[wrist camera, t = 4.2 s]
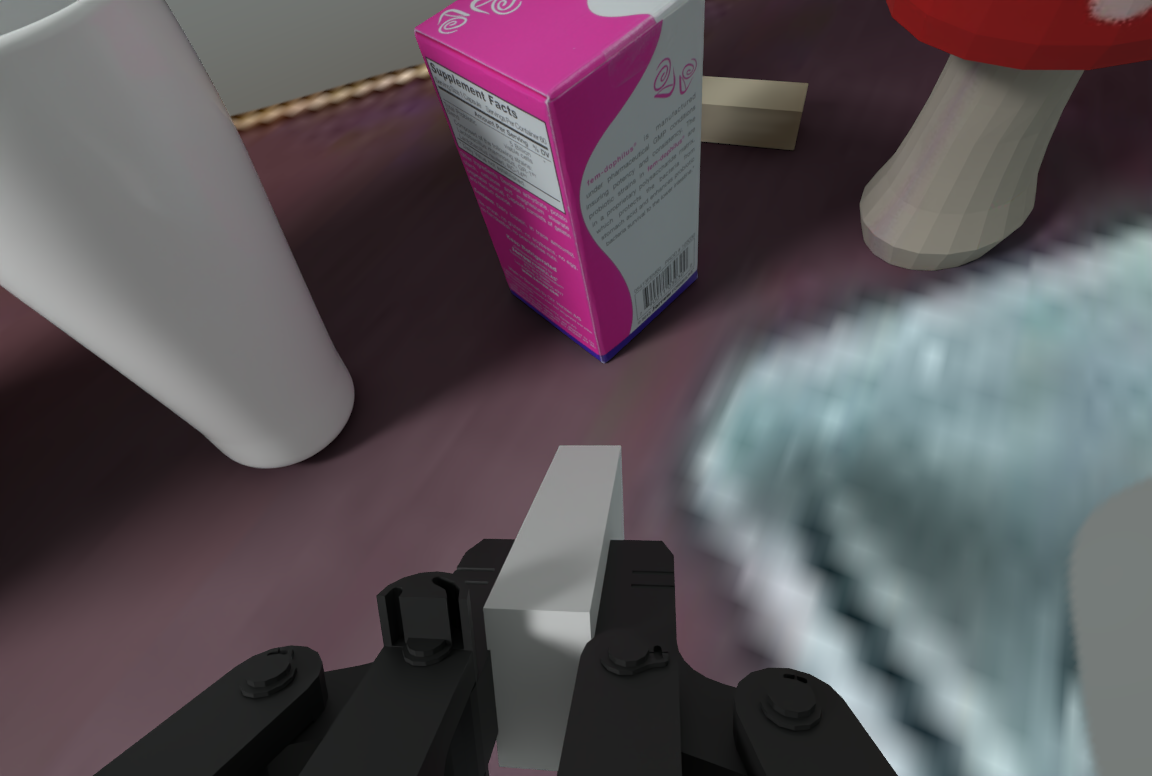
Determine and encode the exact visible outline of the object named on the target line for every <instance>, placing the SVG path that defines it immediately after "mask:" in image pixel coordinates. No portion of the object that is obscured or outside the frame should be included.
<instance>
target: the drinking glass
mask: <svg viewBox="0 0 1152 776" xmlns="http://www.w3.org/2000/svg"><path fill="white" fill-rule="evenodd" d="M0 286H2V287H3V288H4V289H6V290H7V291H8V292H10V293H11V294H12V295H14V296H15V297H16V298H18V299H19V300H21V301H22V302H23V303H25V304H26V305H27V306H29V307H30V308H32V309H33V310H34V311H36V312H37V313H38V314H40V315H41V316H43V317H44V318H45V319H47V320H48V321H49V322H51V323H52V324H54V325H55V326H56V327H58V328H59V329H60V330H62V331H63V332H65V333H66V334H67V335H69V336H70V337H71V338H73V339H74V340H76V341H77V342H78V343H80V344H81V345H82V346H84V347H85V348H87V349H88V350H89V351H91V352H92V353H93V354H95V355H96V356H98V357H99V358H100V359H102V360H103V361H104V362H106V363H107V364H109V365H110V366H111V367H113V368H114V369H115V370H117V371H118V372H119V373H121V374H122V375H124V376H125V377H126V378H128V379H129V380H130V381H132V382H133V383H134V384H136V385H137V386H139V387H140V388H141V389H143V390H144V391H145V392H147V393H148V394H149V395H151V396H152V397H153V398H155V399H156V400H158V401H159V402H160V403H162V404H163V405H164V406H166V407H167V408H168V409H170V410H171V411H172V412H174V413H175V414H176V415H178V416H179V417H180V418H182V419H183V420H184V421H186V422H187V423H188V424H190V425H191V426H192V427H194V428H195V429H196V430H198V431H199V432H200V433H201V434H202V435H204V436H205V437H206V438H207V439H208V440H209V441H210V442H211V443H212V444H213V445H214V446H215V447H216V448H218V449H219V450H220V451H221V452H222V453H223V454H225V455H226V456H227V457H228V458H230V459H232V460H233V461H235V462H237V463H240V464H242V465H245V466H249V467H254V468H263V469H268V468H280V467H285V466H289V465H293V464H296V463H298V462H301V461H303V460H306V459H308V458H310V457H311V456H313V455H315V454H316V453H318V452H320V451H321V450H322V449H324V448H325V447H326V446H327V445H329V444H330V443H331V442H332V441H333V440H334V439H335V438H336V437H337V436H338V435H339V433H340V432H341V431H342V429H343V428H344V426H345V425H346V423H347V421H348V419H349V417H350V415H351V412H352V409H353V405H354V395H355V392H354V385H353V380H352V378H351V375H350V373H349V371H348V369H347V367H346V366H345V364H344V362H343V360H342V359H341V357H340V355H339V354H338V352H337V350H336V349H335V347H334V344H333V342H332V340H331V338H330V336H329V334H328V331H327V329H326V327H325V325H324V323H323V321H322V318H321V316H320V314H319V312H318V309H317V307H316V305H315V303H314V301H313V298H312V296H311V294H310V292H309V289H308V287H307V285H306V283H305V280H304V278H303V276H302V274H301V271H300V269H299V267H298V265H297V262H296V260H295V258H294V256H293V253H292V251H291V249H290V247H289V244H288V242H287V240H286V237H285V235H284V233H283V231H282V228H281V226H280V224H279V221H278V219H277V217H276V215H275V212H274V210H273V208H272V205H271V203H270V201H269V199H268V196H267V194H266V192H265V190H264V187H263V185H262V183H261V180H260V178H259V176H258V174H257V171H256V169H255V167H254V165H253V163H252V160H251V158H250V156H249V154H248V152H247V149H246V147H245V145H244V143H243V141H242V139H241V137H240V135H239V133H238V130H237V128H236V126H235V124H234V122H233V120H232V118H231V116H230V115H229V113H228V111H227V109H226V107H225V105H224V103H223V101H222V99H221V97H220V95H219V93H218V92H217V90H216V88H215V86H214V85H213V82H212V80H211V78H210V77H209V75H208V73H207V72H206V69H205V68H204V66H203V64H202V62H201V60H200V59H199V57H198V55H197V53H196V52H195V50H194V48H193V46H192V45H191V43H190V41H189V40H188V38H187V36H186V34H185V33H184V31H183V29H182V28H181V26H180V24H179V22H178V21H177V19H176V17H175V16H174V14H173V13H172V11H171V9H170V7H169V6H168V4H167V2H166V1H165V0H0Z"/></svg>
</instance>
